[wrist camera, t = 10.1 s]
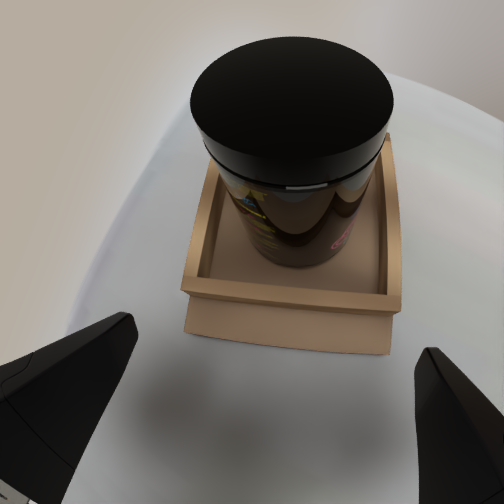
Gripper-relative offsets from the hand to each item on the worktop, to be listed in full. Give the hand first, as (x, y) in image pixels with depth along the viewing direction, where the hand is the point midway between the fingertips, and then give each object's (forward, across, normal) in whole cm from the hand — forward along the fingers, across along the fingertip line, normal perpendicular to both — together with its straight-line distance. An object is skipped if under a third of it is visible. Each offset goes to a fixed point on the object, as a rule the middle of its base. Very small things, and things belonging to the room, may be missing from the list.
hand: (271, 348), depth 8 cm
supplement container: (+11, 0, 0) cm, 11 cm away
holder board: (+14, 0, -1) cm, 14 cm away
